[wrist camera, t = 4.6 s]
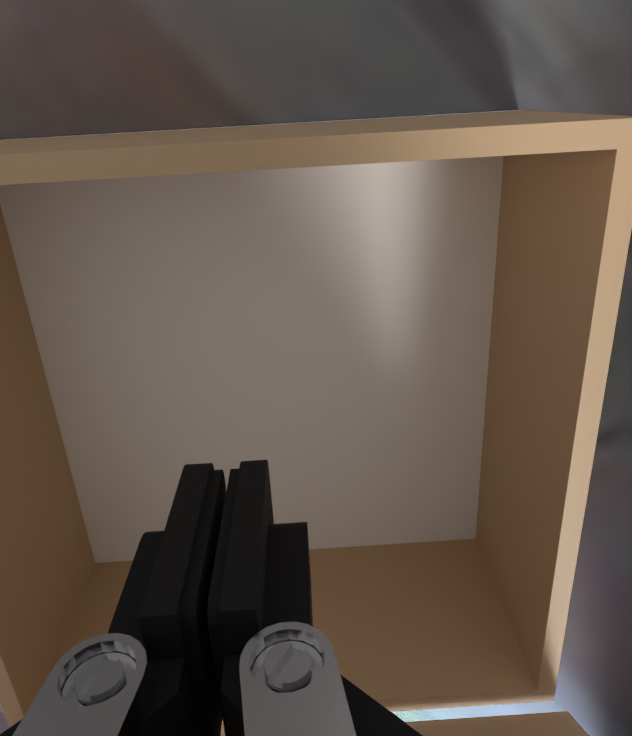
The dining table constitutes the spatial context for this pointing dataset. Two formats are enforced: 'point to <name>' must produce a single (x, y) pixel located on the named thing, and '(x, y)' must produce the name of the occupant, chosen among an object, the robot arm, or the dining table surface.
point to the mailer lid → (502, 726)
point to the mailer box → (316, 375)
